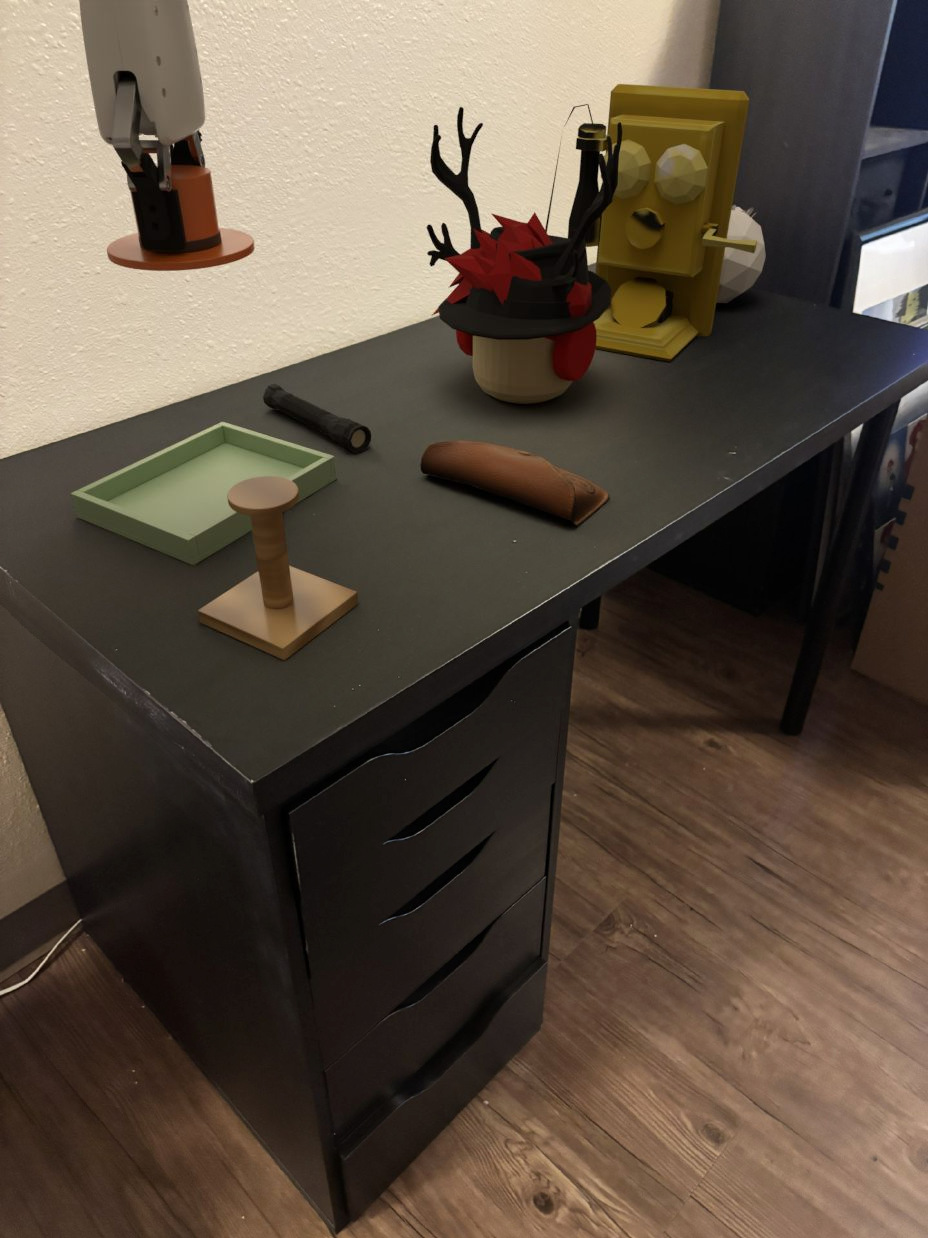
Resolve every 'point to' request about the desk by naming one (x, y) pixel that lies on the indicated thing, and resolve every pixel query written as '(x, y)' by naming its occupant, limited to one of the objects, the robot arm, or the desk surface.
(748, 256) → the geodesic sphere
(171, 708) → the desk surface
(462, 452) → the sunglasses case
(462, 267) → the decorative hat
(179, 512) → the tray
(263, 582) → the hat stand
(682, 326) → the vintage telephone
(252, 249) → the small hat
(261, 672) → the desk surface
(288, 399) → the flashlight
